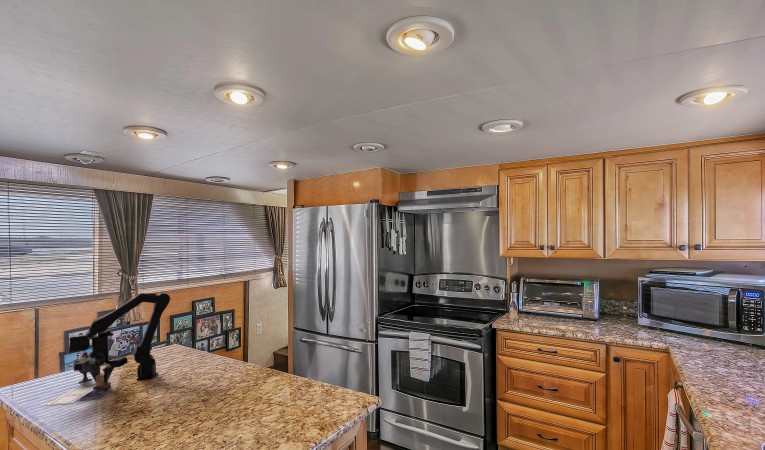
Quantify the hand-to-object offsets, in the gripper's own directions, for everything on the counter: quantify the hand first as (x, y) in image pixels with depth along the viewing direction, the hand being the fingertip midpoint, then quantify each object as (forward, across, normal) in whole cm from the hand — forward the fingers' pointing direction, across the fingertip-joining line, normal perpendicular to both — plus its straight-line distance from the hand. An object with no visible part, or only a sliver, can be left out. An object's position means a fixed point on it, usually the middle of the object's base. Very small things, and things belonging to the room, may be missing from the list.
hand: (102, 383), depth 158 cm
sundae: (+2, -14, +11) cm, 18 cm away
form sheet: (+2, -8, -5) cm, 10 cm away
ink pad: (+2, +2, -7) cm, 8 cm away
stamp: (+2, 0, 0) cm, 2 cm away
